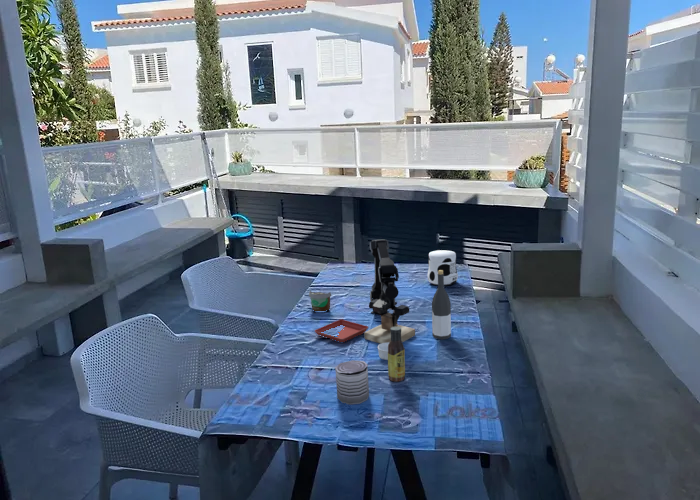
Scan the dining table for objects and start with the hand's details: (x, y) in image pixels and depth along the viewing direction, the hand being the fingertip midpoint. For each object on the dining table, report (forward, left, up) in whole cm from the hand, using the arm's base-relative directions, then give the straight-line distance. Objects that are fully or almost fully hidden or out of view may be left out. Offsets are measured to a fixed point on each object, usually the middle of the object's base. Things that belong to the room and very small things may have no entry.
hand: (389, 325), depth 243 cm
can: (+23, -50, -6) cm, 55 cm away
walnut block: (0, 0, -1) cm, 1 cm away
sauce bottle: (+27, -30, -6) cm, 41 cm away
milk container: (-25, +81, -6) cm, 85 cm away
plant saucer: (-20, -10, -6) cm, 23 cm away
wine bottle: (+18, +14, -6) cm, 24 cm away
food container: (-51, +6, -6) cm, 52 cm away
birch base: (0, 0, -6) cm, 6 cm away
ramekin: (+12, -16, -6) cm, 21 cm away
